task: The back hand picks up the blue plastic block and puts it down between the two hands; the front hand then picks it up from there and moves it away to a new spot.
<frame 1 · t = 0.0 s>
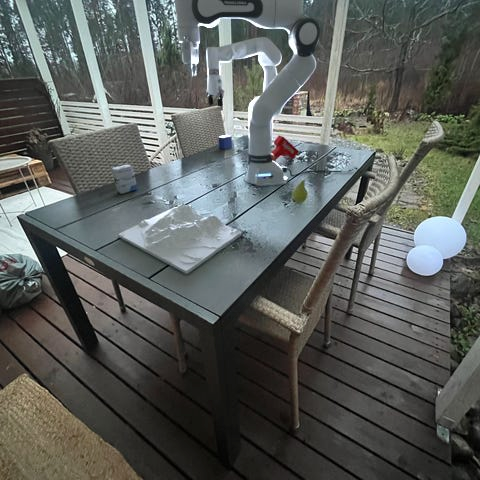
front hand: (192, 76, 120), 48 cm above the table, tool pointing down, fingers open, 8 cm apart
back hand: (215, 105, 167), 31 cm above the table, tool pointing down, fingers open, 9 cm apart
red power drill: (283, 159, 177), on the table
ink box: (127, 190, 134), on the table
relief map: (180, 236, 98), on the table
block: (225, 147, 204), on the table
fruit: (299, 202, 122), on the table
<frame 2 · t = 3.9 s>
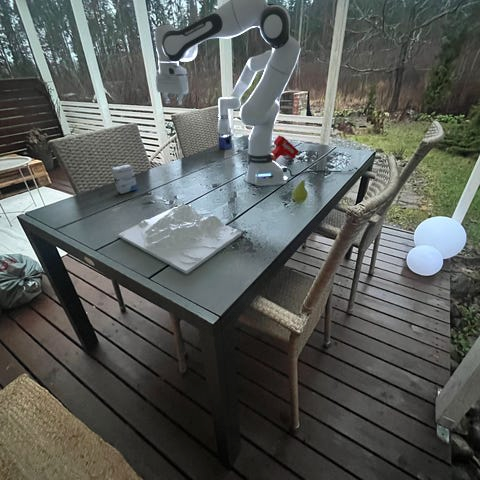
front hand: (173, 103, 130), 36 cm above the table, tool pointing down, fingers open, 8 cm apart
back hand: (225, 143, 202), 3 cm above the table, tool pointing down, fingers closed on block, 5 cm apart
block: (225, 147, 204), on the table, touching back hand
everything else where it was.
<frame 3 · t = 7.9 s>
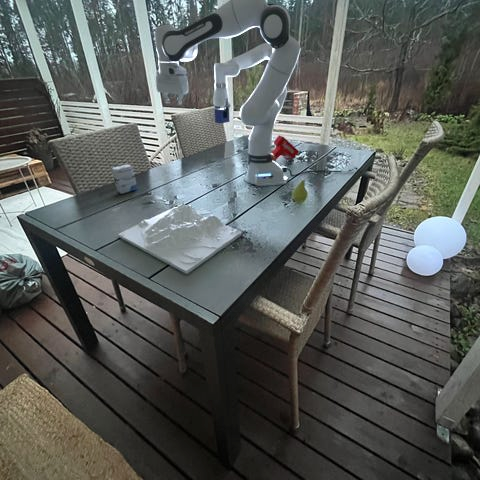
front hand: (173, 103, 130), 36 cm above the table, tool pointing down, fingers open, 8 cm apart
back hand: (222, 117, 180), 23 cm above the table, tool pointing down, fingers closed on block, 5 cm apart
block: (222, 122, 182), point 20 cm above the table, touching back hand
everything else where it was.
when the back hand's fingers open (4 cm above the table, at t = 12.2 s): block drops 1 cm, on the table.
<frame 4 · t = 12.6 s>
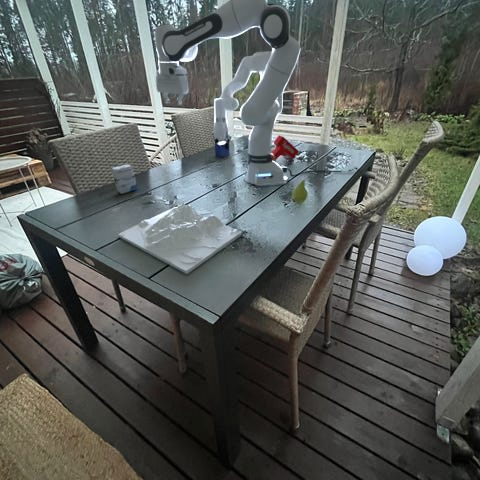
front hand: (173, 103, 130), 36 cm above the table, tool pointing down, fingers open, 8 cm apart
back hand: (221, 147, 183), 5 cm above the table, tool pointing down, fingers open, 9 cm apart
block: (222, 155, 186), on the table
everything else where it was.
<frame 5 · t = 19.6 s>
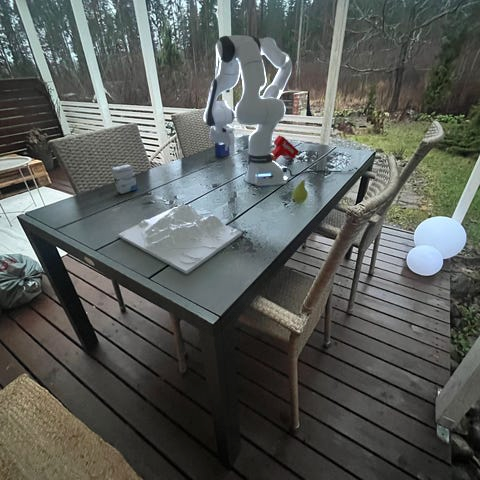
front hand: (222, 149, 184), 4 cm above the table, tool pointing down, fingers closed on block, 5 cm apart
back hand: (223, 92, 198), 36 cm above the table, tool pointing down, fingers open, 9 cm apart
block: (222, 155, 186), on the table, touching front hand
everything else where it was.
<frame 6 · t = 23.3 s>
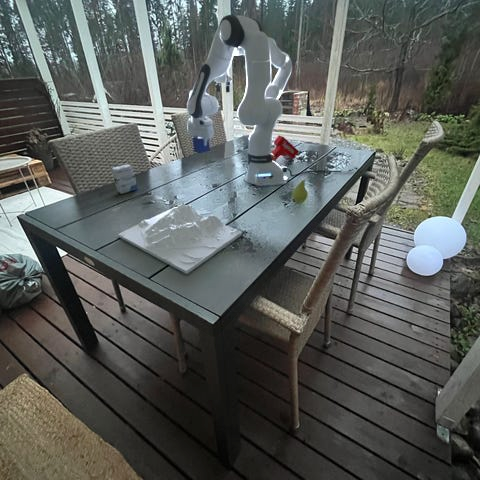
front hand: (201, 144, 165), 11 cm above the table, tool pointing down, fingers closed on block, 5 cm apart
back hand: (223, 92, 198), 36 cm above the table, tool pointing down, fingers open, 9 cm apart
block: (202, 151, 168), point 7 cm above the table, touching front hand
everything else where it was.
when the front hand's fingers open (5 cm above the table, at t = 27.0 s): block drops 1 cm, on the table.
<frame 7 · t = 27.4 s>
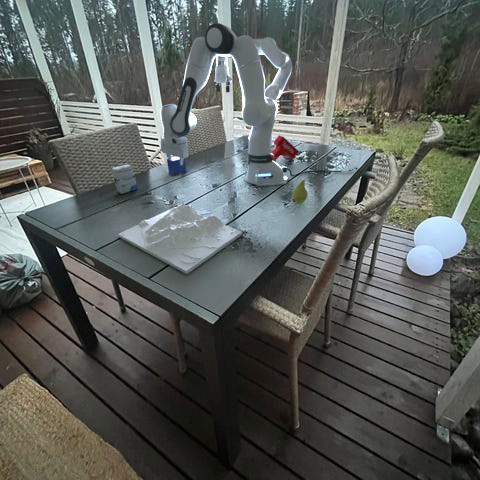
front hand: (175, 163, 153), 5 cm above the table, tool pointing down, fingers open, 8 cm apart
back hand: (223, 92, 198), 36 cm above the table, tool pointing down, fingers open, 9 cm apart
block: (177, 172, 156), on the table
everything else where it was.
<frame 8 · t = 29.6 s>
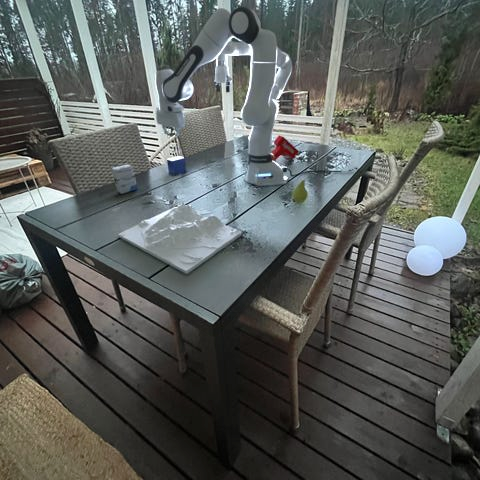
front hand: (171, 135, 145), 21 cm above the table, tool pointing down, fingers open, 8 cm apart
back hand: (223, 92, 198), 36 cm above the table, tool pointing down, fingers open, 9 cm apart
nothing on the table moved.
at the end: block inside the target area (0.3 cm from its centre), on the table; block tilted 0°; the two hands never held the block at the same time; the front hand is holding nothing; the back hand is holding nothing; block at rest at the end (0.0 cm/s) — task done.
